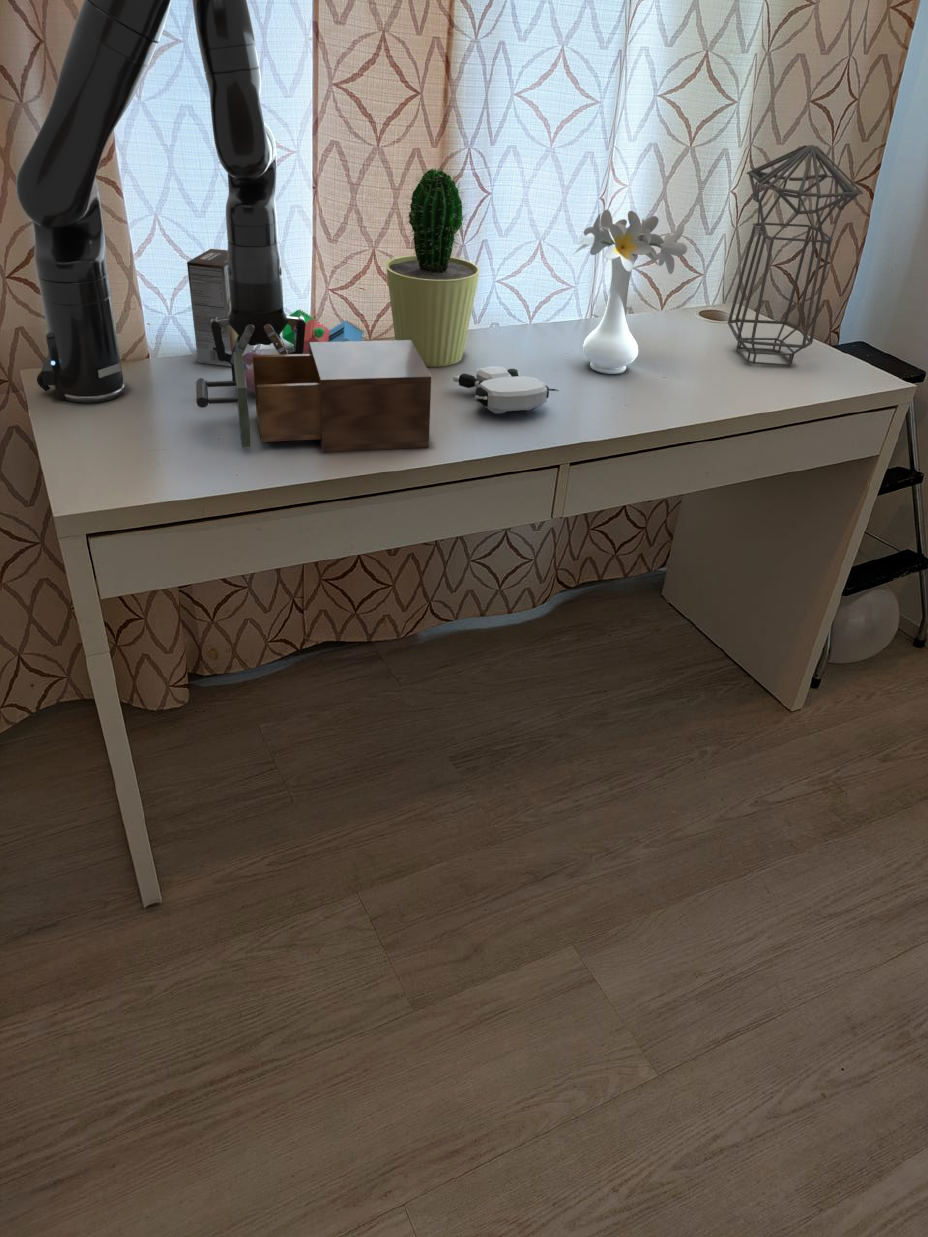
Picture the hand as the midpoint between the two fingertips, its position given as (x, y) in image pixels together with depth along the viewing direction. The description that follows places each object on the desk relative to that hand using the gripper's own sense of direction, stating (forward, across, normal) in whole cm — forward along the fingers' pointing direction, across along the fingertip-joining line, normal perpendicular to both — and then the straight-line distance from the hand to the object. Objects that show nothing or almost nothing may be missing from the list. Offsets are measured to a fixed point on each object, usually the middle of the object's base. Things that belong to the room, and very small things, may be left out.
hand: (262, 385), depth 149 cm
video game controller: (+1, 0, 0) cm, 1 cm away
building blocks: (+1, -11, -16) cm, 19 cm away
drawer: (0, 0, +16) cm, 16 cm away
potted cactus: (+1, -29, -14) cm, 32 cm away
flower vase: (+1, -59, -6) cm, 59 cm away
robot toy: (+1, -36, +8) cm, 37 cm away
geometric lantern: (+1, -89, -8) cm, 89 cm away
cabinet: (+1, -14, +16) cm, 21 cm away
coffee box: (+1, +5, -16) cm, 17 cm away
